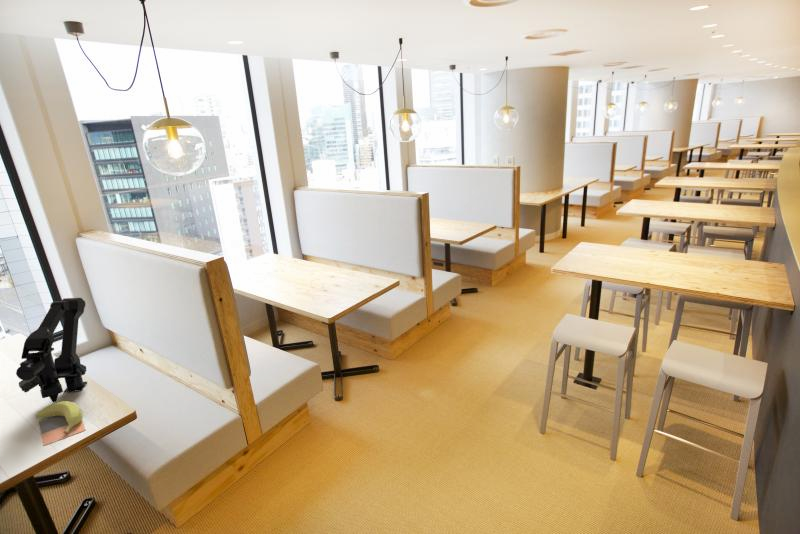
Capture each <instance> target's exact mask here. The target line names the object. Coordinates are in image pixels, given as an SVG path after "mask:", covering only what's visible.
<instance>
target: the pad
mask: <svg viewBox="0 0 800 534" xmlns="http://www.w3.org/2000/svg"><path fill="white" fill-rule="evenodd" d="M67 427H68V425H66V426H63V427H60V428H57V429H55V430H52V431H49V432H46V433H43V434H41V433H40V435H41V440H42V445H43V447H44V446H48V445H49V444H53V443H56V442H58V441H60V440H64V439H66V438H69V437H71V436H74V435H77V434H79V433H82V432H85V431H86V428H85V424H84V422H83V420H81V421H80V422H79V423H78V424H77V425H75V426H73V427H72V428H71V429H70V431H69V434H64V433H63V432H64V431H65V430H66V429H67Z"/></svg>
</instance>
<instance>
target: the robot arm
mask: <svg viewBox="0 0 800 534" xmlns="http://www.w3.org/2000/svg"><path fill="white" fill-rule="evenodd" d="M85 307H86V301H85V300H84V299H83V298H82V297H67V298H63V299H61V300H59V301H53V302H51V303H50V307H49V309H48V311H47V313H46V314H45V315H44V318H43V319H42V321H41V323H40V325H39V326H38V328H37V329H36V330H34V331H33V332H31V333H30V334H29V335H28V336H27V337H26V339H25V341H24V343H23V349H22V353H21V360H24V361H21V362H20V363H19V366H18V368H17V369H16V371H15V374H16V377H18V379H20V381H19V382H18V387H19V388H20V389H21V391H22V392H24V393H28V392H30V391H31V390H32V389H34V388H35V387H37V386H38V387H39V389H40V390H39V391H40V395H41V397H42V399H46V398H49V399H50V400H51V402H52V403H57V400H58V397H59V395H60V394H61V393H65V394H66V393H73V392H78V391H77V390H80V391H83V389H84V388H85V386H86V385H87V384H86V383H88V381H84V380H83V376H84V375H85V374H86V372H87V366H86V365H85V364H82V363H81V358H80V356H78V354H77V346H78V345H77V343H78V329H79V320H80V318H81V316H82V315H83V314H84V313H85ZM62 318H63V327H62V328H63V329H62V338H61V339H62V341H61V351H60V352H61V353H60V355H58V357H56V358H55V359H54V358H53V353H52V352H53V351H54V350H55V347H52V346H53V343H54V341H55V337H54V332H55V331H56V329H57V327H58V325H59V323H60V322H61V320H62ZM63 378H64V381H65V387H66V388H65V389H64V391H63V387H62V386H63V385H62V384H61V382H60V380H59V379H63ZM85 384H86V385H85ZM84 385H85V386H84ZM83 387H84V388H83ZM82 388H83V389H82ZM72 391H73V392H72Z"/></svg>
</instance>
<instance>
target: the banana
mask: <svg viewBox="0 0 800 534" xmlns="http://www.w3.org/2000/svg"><path fill="white" fill-rule="evenodd" d="M53 416H64V417H65V418H66V420H67V423H68V424H69V425H68V427H67V429H66V430H65V431H64V432H63V433H64V434H69V431H70V429H71V428H72V427H73V426H75V425H77V424H78V423H79V422H80V421H81V420H82V419H83V417H84V414H83V411H82V409H81V408H80V406H78V405H77V404H76V403H74V402H72V401H67V400H65V401H58V402H57V401H56V402H53V403H52V404H49V405H47V406H45V407H43V408H42V409H41V410H39V411H38V412H37V413H36V414H35V418H36V419H44V418H45V419H46V418H50V417H53ZM82 421H83V420H82Z"/></svg>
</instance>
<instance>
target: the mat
mask: <svg viewBox="0 0 800 534" xmlns="http://www.w3.org/2000/svg"><path fill="white" fill-rule="evenodd" d="M38 425H39V429H40V435H41V434H43V433H46V432H49V431H52V430H55V429H57V428H60V427H63V426H66V425H69V424H68V423H67V420H66V418H65V417H64V416H50V417H46V418H45V419H44V418H43V419H41V420H39V421H38Z"/></svg>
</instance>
